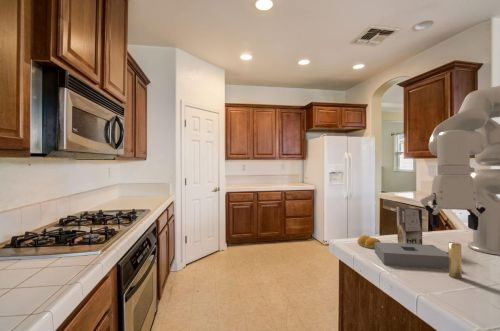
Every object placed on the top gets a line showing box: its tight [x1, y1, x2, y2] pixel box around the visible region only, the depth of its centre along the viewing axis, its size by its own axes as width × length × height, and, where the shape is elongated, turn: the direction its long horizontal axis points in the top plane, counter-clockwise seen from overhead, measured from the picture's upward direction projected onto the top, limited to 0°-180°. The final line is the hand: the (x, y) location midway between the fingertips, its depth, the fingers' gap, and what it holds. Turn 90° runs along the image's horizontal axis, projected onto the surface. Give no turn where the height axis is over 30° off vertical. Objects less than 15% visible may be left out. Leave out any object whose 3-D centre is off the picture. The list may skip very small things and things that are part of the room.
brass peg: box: [447, 241, 463, 280], centre depth 75 cm, size 3×3×10 cm
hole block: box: [374, 241, 449, 270], centre depth 88 cm, size 20×12×4 cm, turn 77°
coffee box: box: [396, 205, 423, 245], centre depth 104 cm, size 9×6×16 cm
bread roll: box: [356, 234, 381, 249], centre depth 105 cm, size 8×9×4 cm
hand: (453, 228), depth 75 cm, fingers open, 9 cm apart
